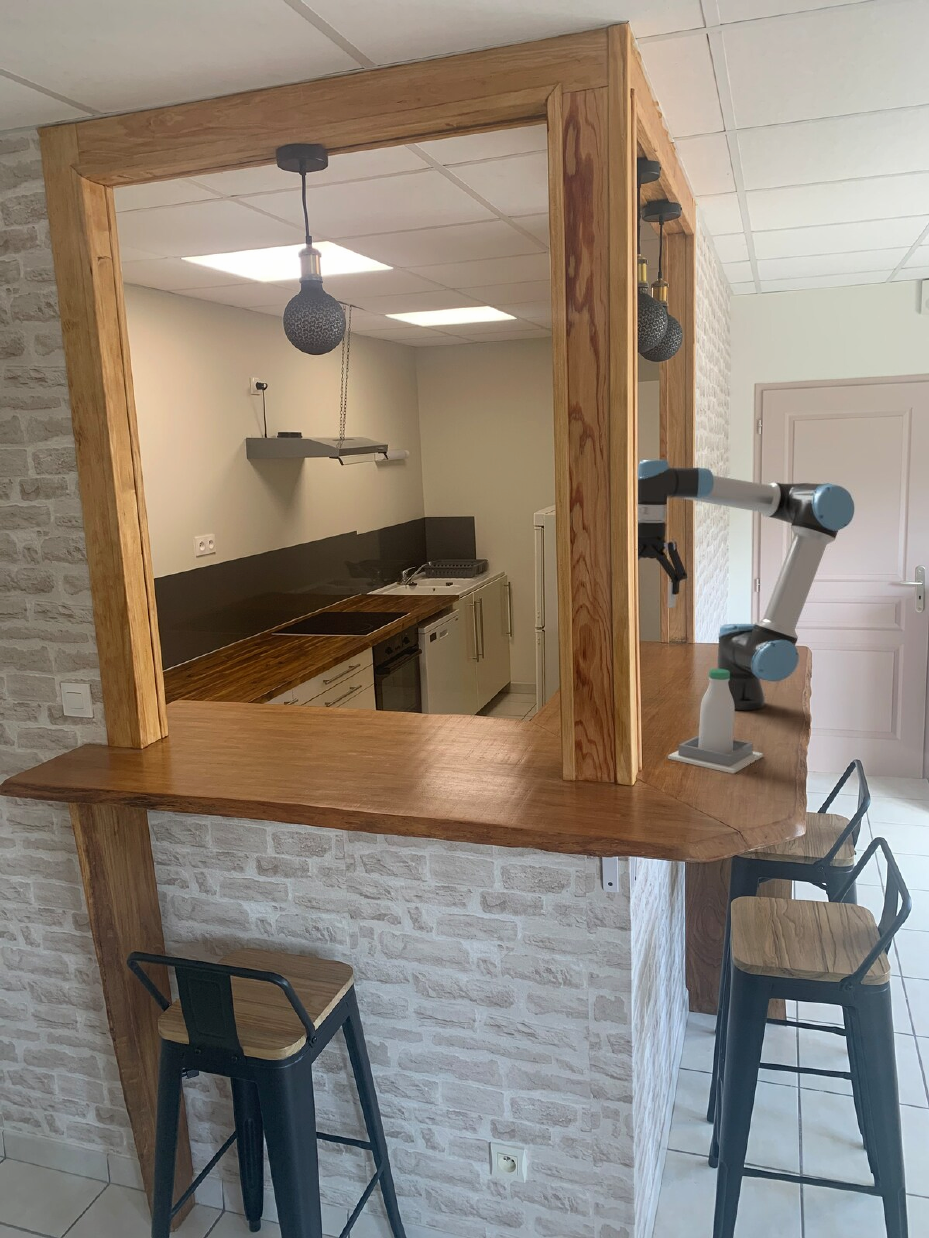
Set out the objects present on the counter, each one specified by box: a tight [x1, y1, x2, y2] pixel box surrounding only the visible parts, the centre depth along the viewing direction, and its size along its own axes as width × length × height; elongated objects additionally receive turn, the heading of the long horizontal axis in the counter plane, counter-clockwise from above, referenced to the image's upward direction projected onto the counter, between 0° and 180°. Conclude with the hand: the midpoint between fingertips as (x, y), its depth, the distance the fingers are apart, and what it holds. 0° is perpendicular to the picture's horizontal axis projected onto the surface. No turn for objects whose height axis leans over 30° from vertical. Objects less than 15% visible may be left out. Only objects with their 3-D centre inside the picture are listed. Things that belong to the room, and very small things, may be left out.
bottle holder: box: [667, 734, 764, 775], centre depth 216 cm, size 16×16×3 cm
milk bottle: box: [698, 668, 736, 754], centre depth 215 cm, size 8×8×20 cm
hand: (647, 604), depth 239 cm, fingers open, 13 cm apart
